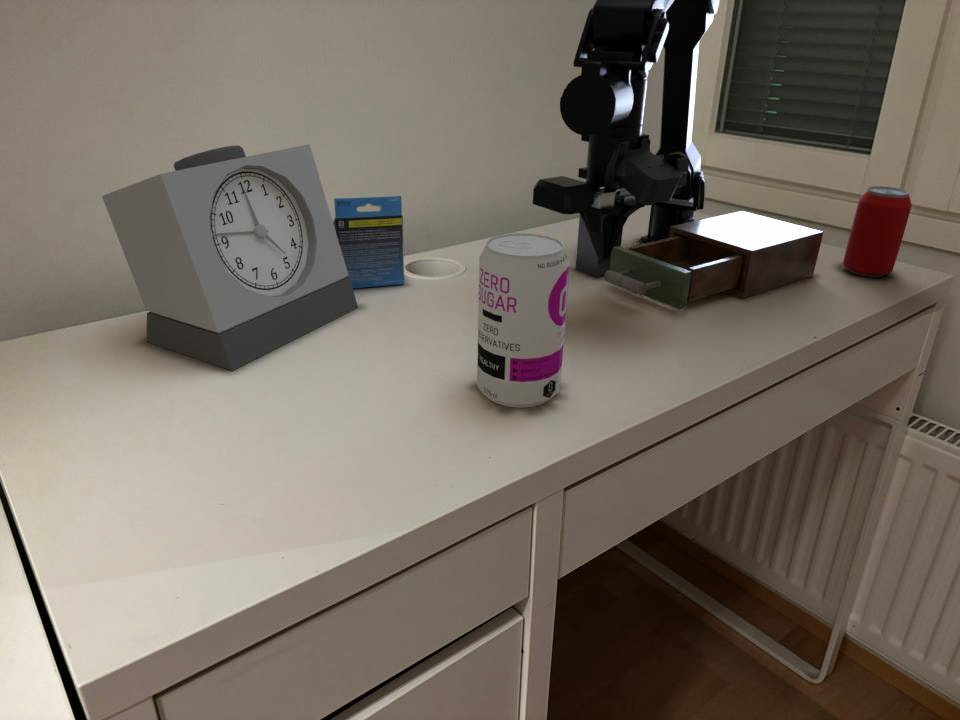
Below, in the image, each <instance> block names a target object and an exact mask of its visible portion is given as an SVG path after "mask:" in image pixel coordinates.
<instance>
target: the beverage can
mask: <svg viewBox="0 0 960 720" xmlns="http://www.w3.org/2000/svg"><path fill="white" fill-rule="evenodd" d="M910 194H911V193H910V191H908V190H905V189H903V188H898V187H892V186H883V185H882V186H881V185H880V186H879V185H876V186H869V187H867V189H866V191H865V192H864V193H863V194H862V195H861V196H860V197H859V198H858V202H857V206H856V208H855V213H854V216H853V220H852V224H851V228H850V231H849V236H848V240H847V244H846V247H845V251H844V256H843V260H842V265H843V266H844V267H845V268H847V270H848V271H850V272H851V273H854V274H855V275H858V276H859V275H860V276H864V277H872V278H878V277H883V276H885V275H887V274H891V273H892V272H893V271H894V268H895V265H896V261H897V258H898V255H899V251H900V248H901V245H902V241H903V238H904V235H905V231H906V229H907V224H908V220H909V217H910V214H911V210H912V207H913V205H912V201H911V197H910Z"/></svg>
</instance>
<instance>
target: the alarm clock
mask: <svg viewBox="0 0 960 720" xmlns="http://www.w3.org/2000/svg"><path fill="white" fill-rule="evenodd" d="M173 168H174V170H173V171H168V172H164V173H159V174H156V175H154V176H151V177H148V178H146V179H143V180H141V181H138V182H135V183H133V184H129V185H127V186H125V187H121V188H119V189H117V190H114V191H112V192H109V193H106V194H104V195H102V196H101V198H102V200H103V203H104V205H105V208H106V211H107V213H108V217H109V218H110V222H111V224H112V227H113V228H114V232H115V233H116V237H117V239H118V242H119V244H120V246H121V250H122V252H123V255H124V257H125V259H126V262H127V265H128V268H129V270H130V273H131V275H132V278H133V281H134V283H135V285H136V288H137V290H138V293H139V295H140V298H141V301H142V303H143V307H144V308H145V311H147V312H146V337H145V338H146V339H145V341H146V343H150V344H151V345H155V346H158V347H159V348H163V349H166V350H170V351H173V352H176V353H178V354H180V355H184V356H187V357H190V358H193V359H195V360H198V361H201V362H205V363H207V364H211V365H214V366H215V367H216V366H217V367H219V368H222V369H225V370H228V371H231V372H233V371H235V370H237V369H239V368H241V367H243V366H245V365H247V364H249V363H252V362H254V361H255V360H257V359H259V358H261V357H263V356H265V355H267V354H269V353H271V352H274V351H275V350H277V349H279V348H281V347H284V346H285V345H287V344H289V343H291V342H293V341H295V340H297V339H299V338H301V337H303V336H305V335H307V334H309V333H311V332H313V331H315V330H317V329H319V328H321V327H323V326H325V325H327V324H329V323H331V322H333V321H334V320H337V319H339V318H340V317H343V316H345V315H347V314H348V313H351V312H352V311H354V310H356V309H358V308H359V305H358V302H357V299H356V296H355V293H354V289H353V288H352V285H351V281H350V278H348V277H347V276H349V275H348V272H347V268H346V265H345V261H344V258H343V255H342V251H341V248H340V245H339V241H338V238H337V235H336V231H335V228H334V224H333V221H334V220H333V217H332V215H331V212H330V208H329V205H328V201H327V197H326V195H325V191H324V188H323V184H322V181H321V178H320V174H319V171H318V168H317V164H316V161H315V158H314V155H313V151H312V147H311V144H310V143H309V144H303V145H298V146H294V147H293V146H292V147H288V148H283V149H277V150H273V151H268V152H262V153H258V154H253V155H246V152H245V150H244V148H243V147H242V146H240V145H239V144H237V145H228V146H222V147H217V148H213V149H209V150H205V151H202V152H197V153H195V154H192V155H188V156H185V157H182V158H181V159H179V160H177V161H175V162H174V163H173Z"/></svg>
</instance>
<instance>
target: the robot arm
mask: <svg viewBox="0 0 960 720" xmlns="http://www.w3.org/2000/svg"><path fill="white" fill-rule="evenodd" d="M720 1H721V0H596V1H595V2H594V4H593V7H592V8H590V10H588V14H587V17H586V20H585V23H584V26H583V29H582V33H581V36H580V40H579V43H578V46H577V49H576V52H575V56H574V59H573V65H572V66H573V67H574V68H581V69H580V72H581V73H580V75H577V76H576V77H575V78H573V79H571V80H570V82H568V83H567V84H566V86H565V88H564V89H563V92H562V95H561V97H560V99H559V113H560V115H561V118H562V121H563V122H564V125H565V126H566V127H567V128H568V129H569V130H570V131H572V132H573V133H574V134H577V135H580V141H581V142H587V143H588V144H587V157H586V166H585V167H579V168H578V172H577V173H578V174H577V177H578V178H580V179H583V180H585V181H582V180H578V179H576V178H571V177H568V176H564V175H560V176H554V177H545V178H540V179H538V180H537V182H536V183H535V184H534V186H533V190H532V205H534V206H537V207H541V208H544V209H546V210H549V211H552V212H554V213H559V214H561V215H575V214H579V217H580V216H581V218H582V220H583V222H584V224H585V226H586V229H587V231H588V234H589V236H590V239H591V242H592V244H593V247H594V250H595V252H596V255H597V257H598V258H599V259H601V260H605V259H608V258H609V256H610V254H611V252H612V250H613V247H614V245H615V243H616V241H617V239H618V237H619V234H620V232H621V230H622V228H623V229H624V226H625V225H626V222H627V221H628V219H629V217H630V216H631V215H632V214H634V213H636V212H637V211H638V210H640V209H641V208H644V207H645V206H651V207H650V213H649V220H648V226H647V227H648V229H647V234H646V235H642V236H640V241H643V242H646V243H649V242H653V241H658V240H662V239H666V238H669V235H670V227H671V226H675V225H679V224H684V223H689V222H693V221H696V219H695V217H694V212H697V211H698V210H704V208H705V202H706V181H705V177H704V171H702V170H701V168H702V167H701V165H702V164H701V163H702V155H701V154H700V152H699V151H698V149H697V148H696V145H695V144H694V142H693V141H692V139H693V128H694V127H693V125H694V114H695V101H696V90H697V89H696V88H697V75H698V62H699V53H700V52H699V50H700V41H701V40H702V38H703V36H705V33H706V32H707V31H708V29H709V27H710V26H711V24H712V23H713V21H714V17H715V15H716V14H717V12H718V10H719V6H720ZM663 49H664V55H663V56H664V57H663V58H664V60H663V78H662V80H663V81H662V102H661V121H660V142H659V144H660V145H659V148H658V149H657V151H656V152H655V153H653V152H652V151H651V139H650V134H646V133H642V132H643V122H644V114H645V106H646V96H647V87H648V76H649V71H650V70H651V68H653V67H652V66H653V65H654V63H655V64H657V63H658V60H659V58H660V55H661V52H662V50H663Z"/></svg>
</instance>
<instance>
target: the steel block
mask: <svg viewBox="0 0 960 720" xmlns="http://www.w3.org/2000/svg"><path fill="white" fill-rule="evenodd" d="M623 230H624V227H623V228H622V230H621V232H620V234H619V237H618V239H617V241H616V243H615V245H614V247H615V246H620V247H622V239H623ZM577 232H578V233H577V244H576V257H575V270H577V271H578V272H580V273H583V274H585V275H588V276H591V277H593V278H595V279H597V278H601V277H604V275H605V273H606V272H607V271H608V270H610V262H611V254H610V256H609V258H608V259H605V260H601V259H599V258H598V257H597V255H596V252H595V250H594V247H593V244H592V242H591V239H590V236H589V234H588V231H587V229H586V226H585V224H584V222H583V220H582V218H581V216H580V215H579V219H578V231H577Z"/></svg>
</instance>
